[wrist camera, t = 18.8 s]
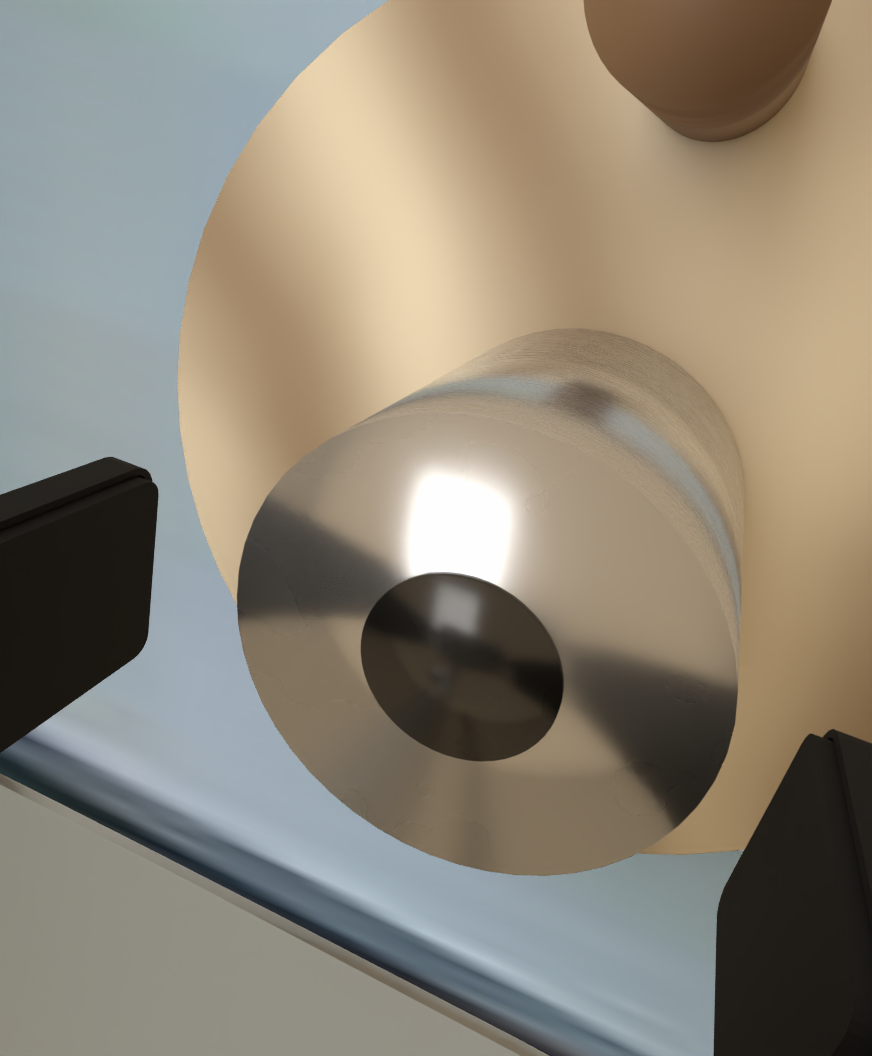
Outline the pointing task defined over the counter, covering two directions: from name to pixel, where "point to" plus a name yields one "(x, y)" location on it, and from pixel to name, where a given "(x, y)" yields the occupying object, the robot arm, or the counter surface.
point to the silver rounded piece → (510, 606)
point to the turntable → (576, 284)
